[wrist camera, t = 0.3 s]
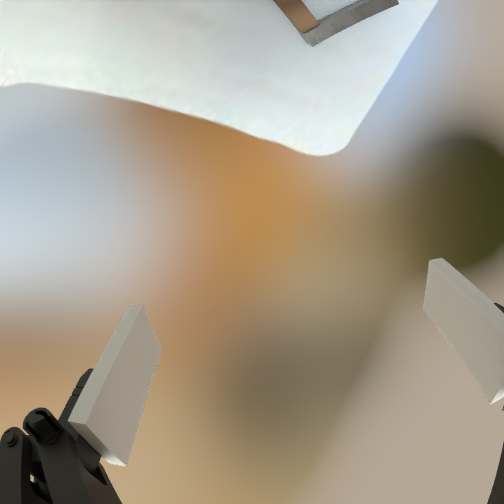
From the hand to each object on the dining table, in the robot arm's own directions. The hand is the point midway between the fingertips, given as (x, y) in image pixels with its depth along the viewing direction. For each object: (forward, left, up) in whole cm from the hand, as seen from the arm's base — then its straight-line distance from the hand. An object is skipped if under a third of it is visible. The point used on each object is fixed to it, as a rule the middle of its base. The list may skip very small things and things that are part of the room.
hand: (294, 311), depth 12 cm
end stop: (+1, +16, -33) cm, 36 cm away
